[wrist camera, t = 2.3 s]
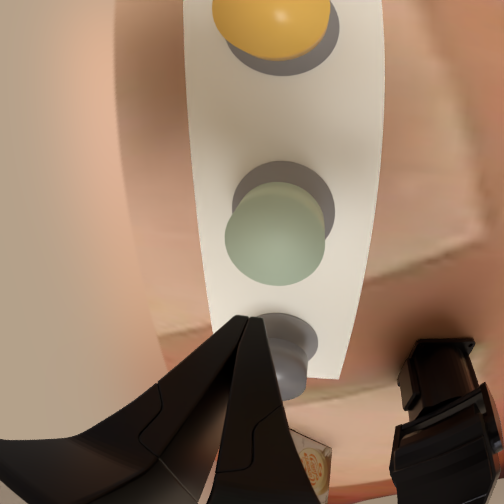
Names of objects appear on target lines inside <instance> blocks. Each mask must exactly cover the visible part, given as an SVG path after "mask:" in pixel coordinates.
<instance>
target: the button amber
mask: <svg viewBox="0 0 504 504" xmlns="http://www.w3.org/2000/svg"><path fill="white" fill-rule="evenodd" d="M212 15H213V19H214V22H215V25H216V27H217V29H218V30H219V32H220V33H221V34H222V36H223V37H224V38H225V39H226V40H227V41H228V42H230V43H231V44H232V45H234V46H235V47H237V48H239V49H241V50H243V51H245V52H247V53H248V54H250V55H252V56H255V57H257V58H260V59H264V60H270V61H286V60H291V59H295V58H298V57H300V56H303V55H305V54H306V53H308V52H310V51H311V50H312V49H314V48H315V47H316V46H317V45H318V44H319V43H320V41H321V40H322V39H323V37H324V35H325V33H326V30H327V26H328V21H329V15H330V0H213V2H212Z"/></svg>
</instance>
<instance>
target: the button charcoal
mask: <svg viewBox="0 0 504 504" xmlns="http://www.w3.org/2000/svg"><path fill="white" fill-rule="evenodd" d="M268 340H269V345H270V349H271V353H272V358H273V362H274V367H275V371H276V375H277V380H278V384H279V388H280V393H281V397H282V401H286V400H290V399H294V398H296V397H298V396H299V395H301V394H302V393H303V392H304V390H305V388H306V380H307V370H308V357H307V355H306V353H305V352H304V350H303V349H302V348H301V347H299V346H298V345H296V344H294V343H292V342H290V341H287V340H283V339H278V338H268Z"/></svg>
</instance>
